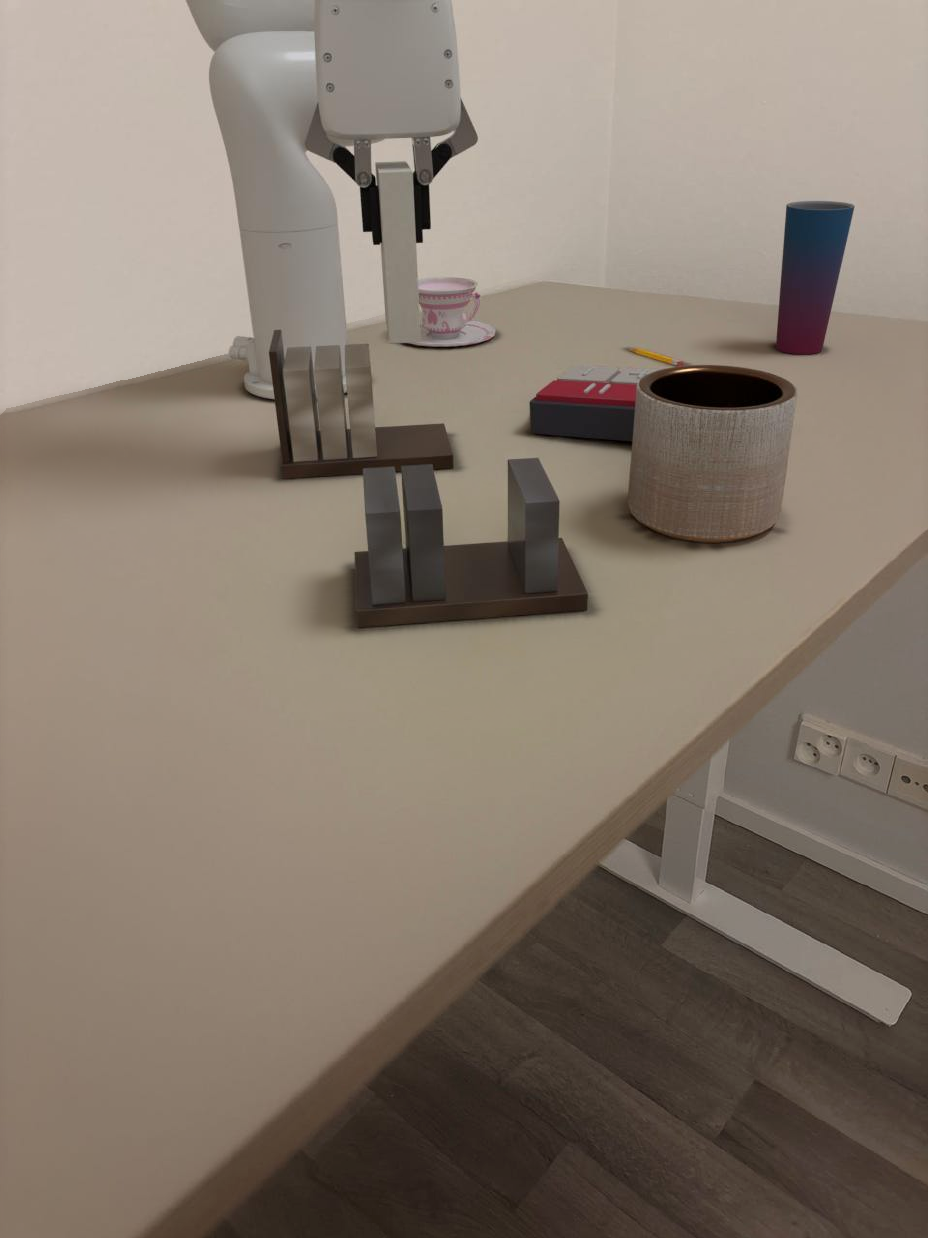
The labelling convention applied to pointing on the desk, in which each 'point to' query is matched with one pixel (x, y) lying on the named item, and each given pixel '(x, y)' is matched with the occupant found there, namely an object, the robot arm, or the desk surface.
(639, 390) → the planter
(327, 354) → the brown rack
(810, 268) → the cup
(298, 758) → the desk surface
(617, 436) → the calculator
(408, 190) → the white book
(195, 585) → the desk surface
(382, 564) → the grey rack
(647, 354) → the pencil
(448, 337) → the teacup
